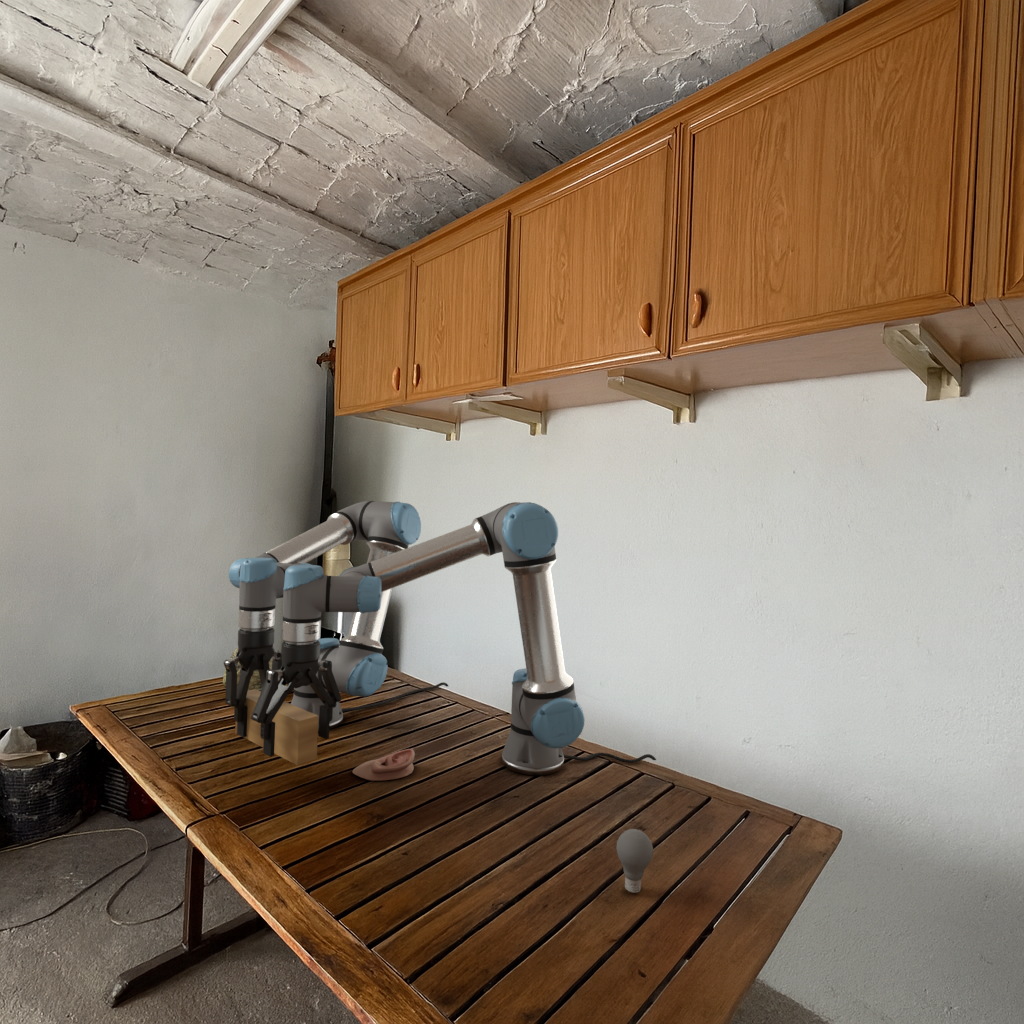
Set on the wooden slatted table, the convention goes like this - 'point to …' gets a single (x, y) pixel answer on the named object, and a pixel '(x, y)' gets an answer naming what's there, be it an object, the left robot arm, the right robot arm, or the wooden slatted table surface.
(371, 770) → the anatomical model
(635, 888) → the light bulb
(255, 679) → the fossil
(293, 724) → the bar
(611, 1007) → the wooden slatted table surface
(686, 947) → the wooden slatted table surface
